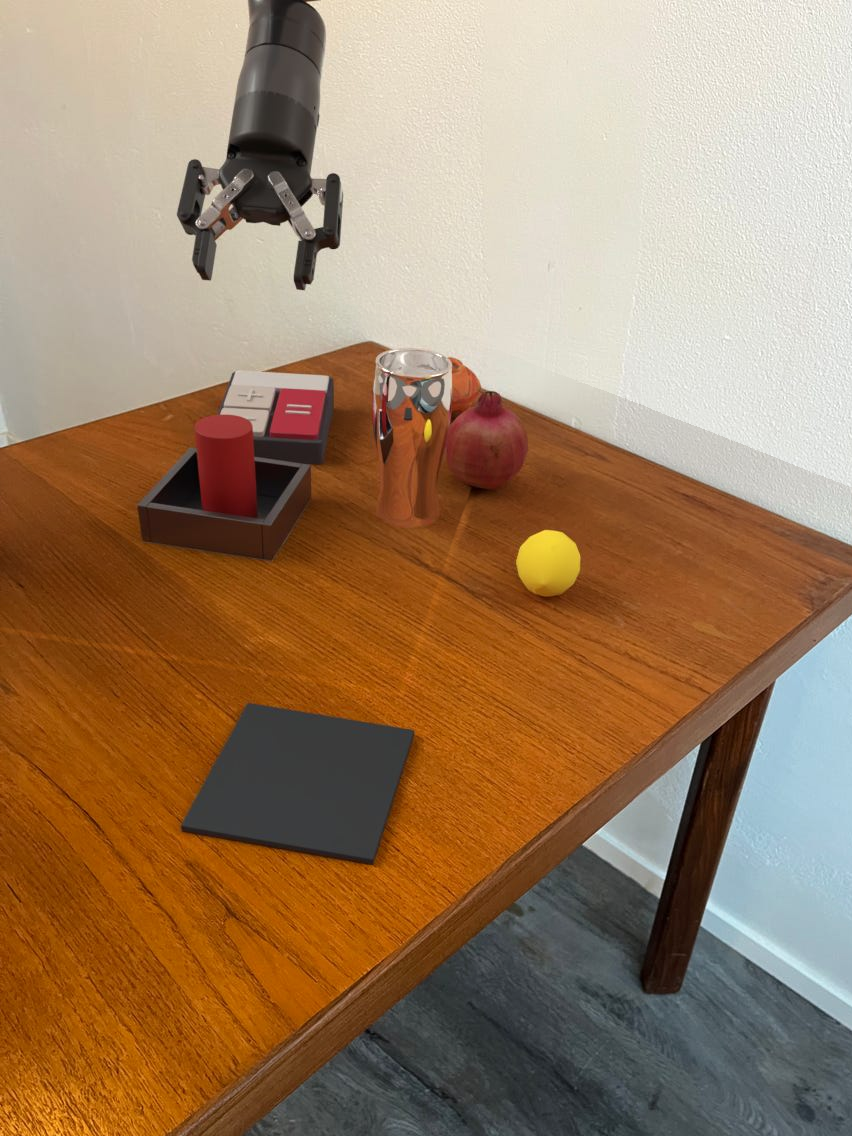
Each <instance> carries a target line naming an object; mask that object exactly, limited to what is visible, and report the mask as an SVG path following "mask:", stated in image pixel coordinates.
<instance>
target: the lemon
mask: <svg viewBox="0 0 852 1136" xmlns="http://www.w3.org/2000/svg"><path fill="white" fill-rule="evenodd" d="M515 564H516V570H517V574H518V575H517V576H518V577H519V579H520V580H521V582H522V584H523V585H524V586H525V588H526V590H528V591H530V592H531V593H533V594H534V595H537V596H540V597H555V596H560V595H562V594H564V593H565V592H566V591H568V590H569V589H570V588H571V587H572V586H573V585H574V584H575V582H576V580H577V578H578V576H579V574H580V572H581V554H580V551H579V549H578V546H577V543H576V542H575V541H573V539H571V538H570V537H569V536H568V535H566V533H564V532H563V531H558V530H554V529H553V530H552V529H551V530H550V529H544V530H542V531H540V532H539V531H538V532H537V533H535V534H533V535H531V536H529V537H528V538H526V540H525V541H524V542H523V543H522V544H521V545H520V547H519V550H518V553H517V557H516V560H515Z"/></svg>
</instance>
